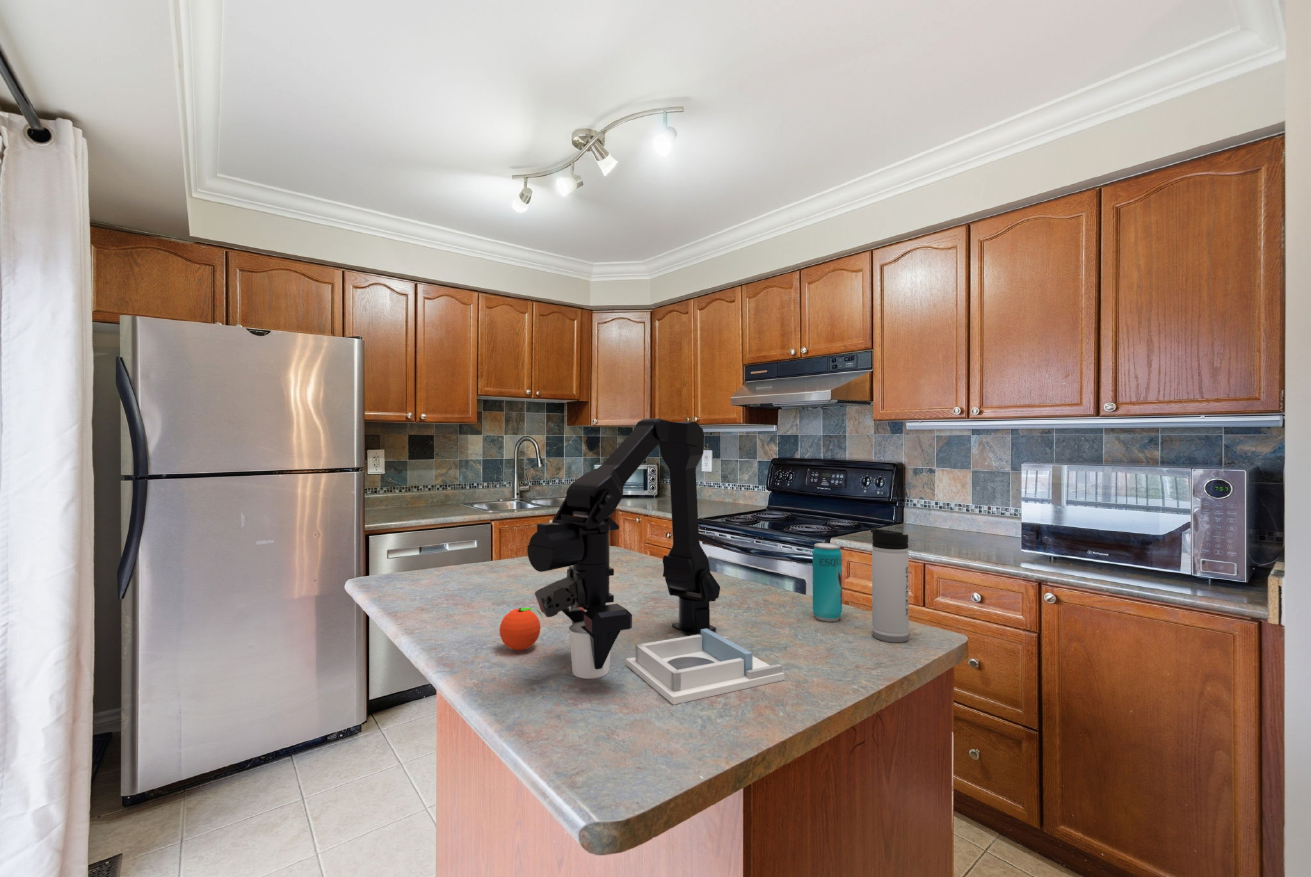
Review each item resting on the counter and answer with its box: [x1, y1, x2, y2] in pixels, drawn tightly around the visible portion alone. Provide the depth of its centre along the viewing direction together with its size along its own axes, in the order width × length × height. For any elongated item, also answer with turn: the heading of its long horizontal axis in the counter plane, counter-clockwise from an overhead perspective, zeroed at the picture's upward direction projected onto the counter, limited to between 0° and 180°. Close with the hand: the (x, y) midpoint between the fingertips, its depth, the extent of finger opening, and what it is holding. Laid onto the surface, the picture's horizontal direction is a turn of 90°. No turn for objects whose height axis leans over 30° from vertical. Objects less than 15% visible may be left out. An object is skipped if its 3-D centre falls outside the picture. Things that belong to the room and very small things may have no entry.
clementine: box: [499, 607, 543, 651], centre depth 101 cm, size 8×7×7 cm
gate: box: [700, 629, 754, 676], centre depth 92 cm, size 13×1×3 cm, turn 27°
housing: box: [625, 634, 785, 705], centre depth 90 cm, size 16×19×4 cm
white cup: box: [568, 621, 612, 680], centre depth 91 cm, size 7×7×7 cm
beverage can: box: [812, 542, 843, 623], centre depth 119 cm, size 6×6×15 cm
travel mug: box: [870, 527, 910, 644], centre depth 107 cm, size 6×7×20 cm
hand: (590, 661), depth 91 cm, fingers closed on white cup, 6 cm apart
